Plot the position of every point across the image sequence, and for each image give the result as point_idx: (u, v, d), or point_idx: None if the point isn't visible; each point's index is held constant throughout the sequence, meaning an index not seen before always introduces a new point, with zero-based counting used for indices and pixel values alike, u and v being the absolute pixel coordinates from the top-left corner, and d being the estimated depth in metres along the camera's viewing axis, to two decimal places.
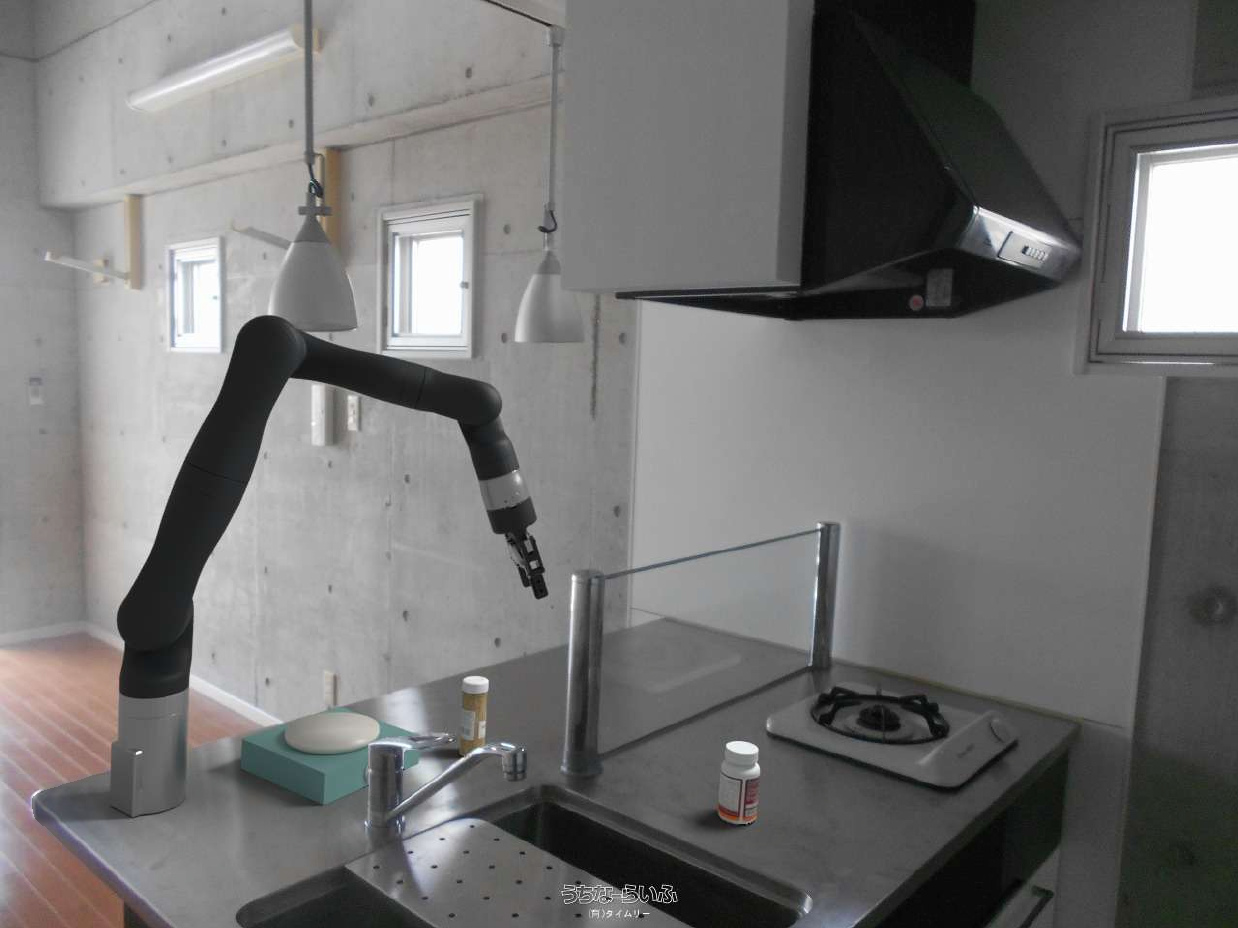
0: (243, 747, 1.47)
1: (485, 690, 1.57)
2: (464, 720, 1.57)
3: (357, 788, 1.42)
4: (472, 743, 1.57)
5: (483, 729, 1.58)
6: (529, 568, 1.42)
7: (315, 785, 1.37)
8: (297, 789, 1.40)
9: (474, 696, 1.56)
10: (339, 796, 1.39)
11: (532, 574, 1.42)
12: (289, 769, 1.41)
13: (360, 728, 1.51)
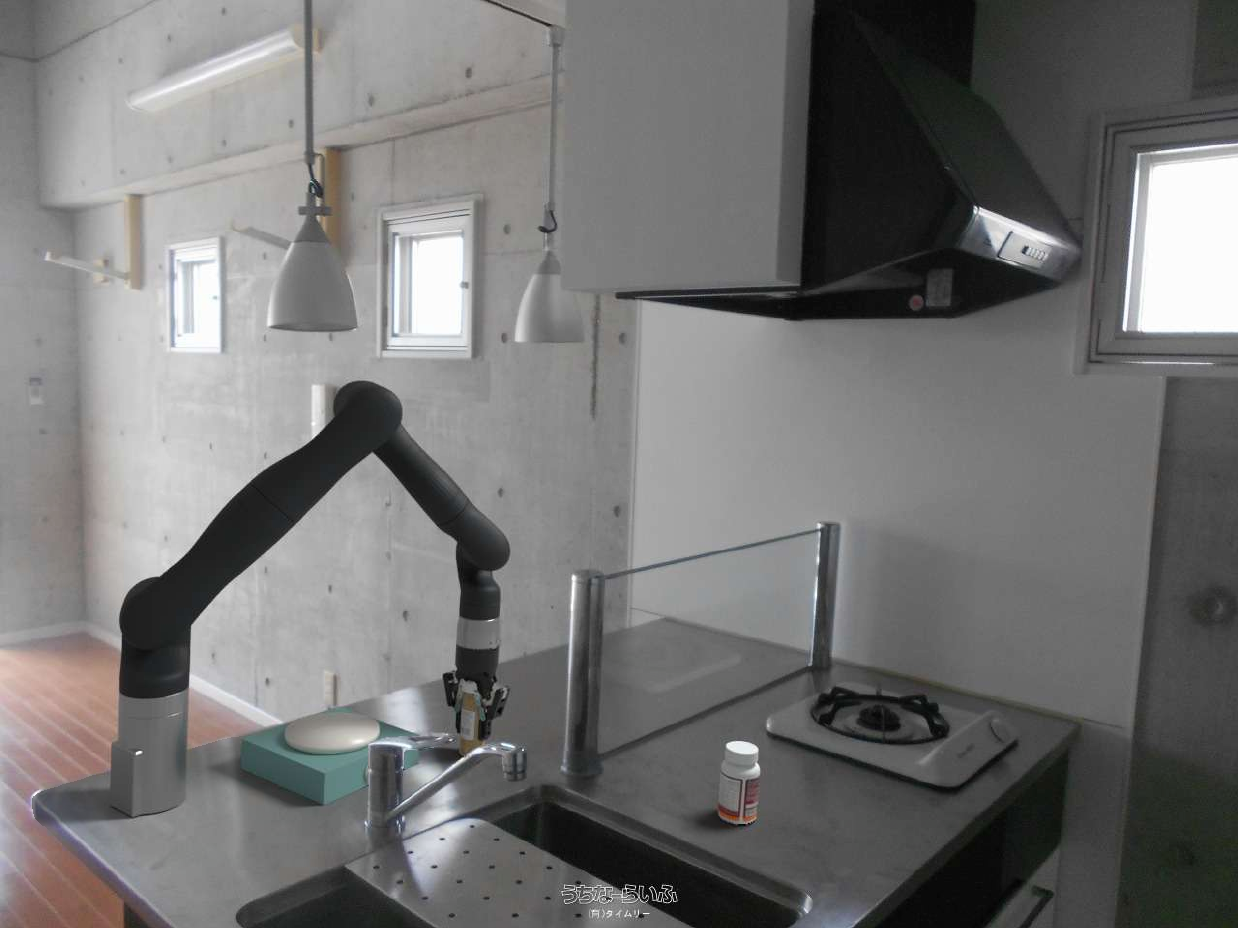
0: (243, 747, 1.47)
1: None
2: (464, 720, 1.57)
3: (357, 788, 1.42)
4: (472, 743, 1.57)
5: None
6: (495, 713, 1.55)
7: (315, 785, 1.37)
8: (297, 789, 1.40)
9: None
10: (339, 796, 1.39)
11: (494, 718, 1.55)
12: (289, 769, 1.41)
13: (360, 728, 1.51)
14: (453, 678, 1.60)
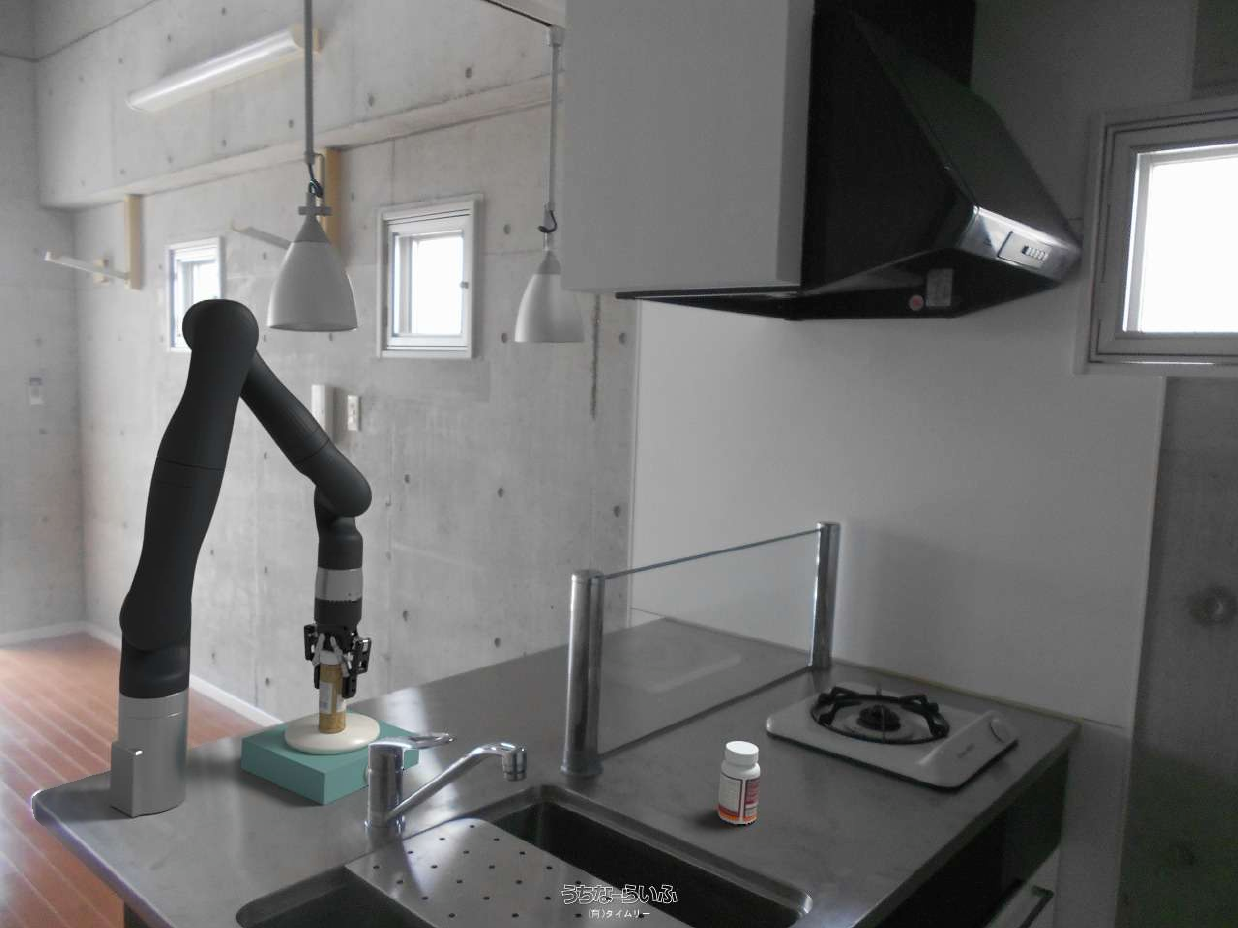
0: (243, 747, 1.47)
1: None
2: (321, 693, 1.48)
3: (357, 788, 1.42)
4: (330, 717, 1.48)
5: (343, 702, 1.49)
6: (357, 667, 1.45)
7: (315, 785, 1.37)
8: (297, 789, 1.40)
9: (331, 666, 1.47)
10: (339, 796, 1.39)
11: (357, 673, 1.45)
12: (289, 769, 1.41)
13: (360, 728, 1.51)
14: (314, 632, 1.51)
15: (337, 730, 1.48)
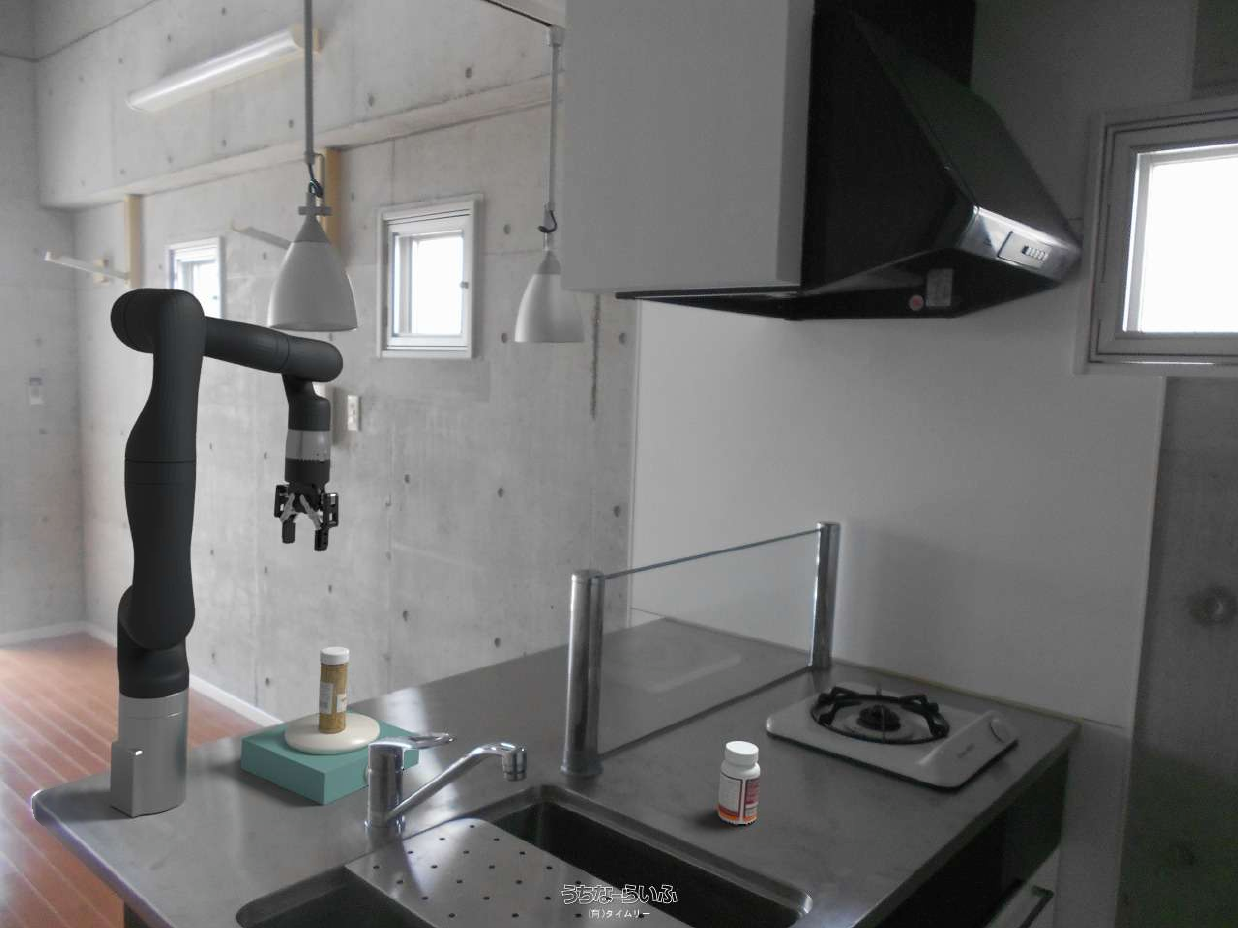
0: (243, 747, 1.47)
1: (344, 661, 1.48)
2: (321, 693, 1.48)
3: (357, 788, 1.42)
4: (330, 717, 1.48)
5: (343, 703, 1.49)
6: (328, 518, 1.55)
7: (315, 785, 1.37)
8: (297, 789, 1.40)
9: (331, 667, 1.47)
10: (339, 796, 1.39)
11: (328, 525, 1.55)
12: (289, 769, 1.41)
13: (360, 728, 1.51)
14: (285, 492, 1.61)
15: (337, 730, 1.48)
